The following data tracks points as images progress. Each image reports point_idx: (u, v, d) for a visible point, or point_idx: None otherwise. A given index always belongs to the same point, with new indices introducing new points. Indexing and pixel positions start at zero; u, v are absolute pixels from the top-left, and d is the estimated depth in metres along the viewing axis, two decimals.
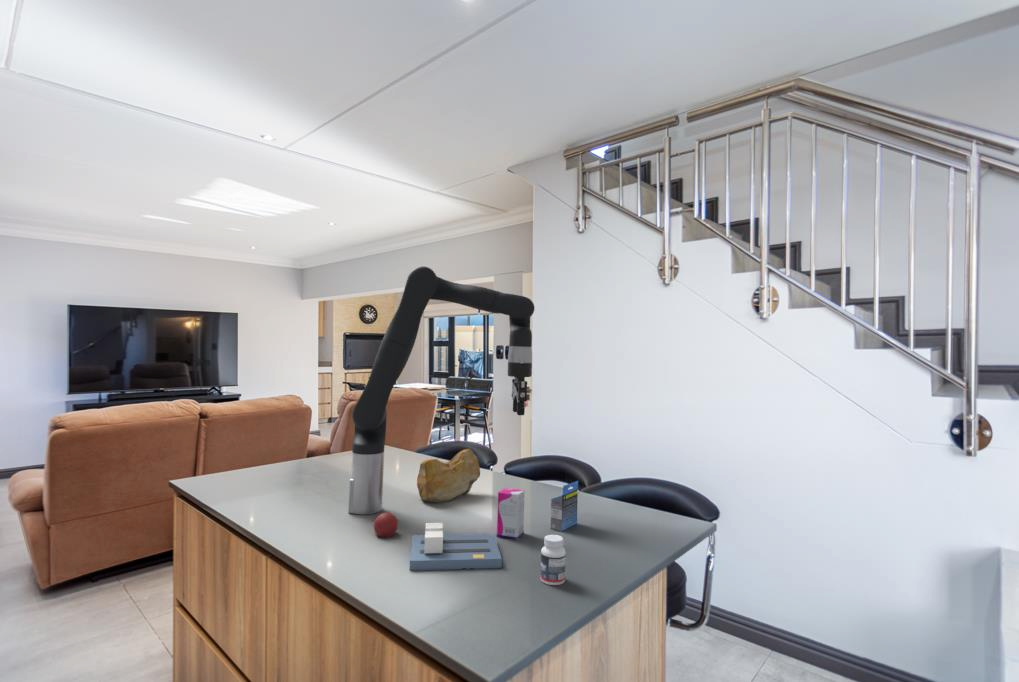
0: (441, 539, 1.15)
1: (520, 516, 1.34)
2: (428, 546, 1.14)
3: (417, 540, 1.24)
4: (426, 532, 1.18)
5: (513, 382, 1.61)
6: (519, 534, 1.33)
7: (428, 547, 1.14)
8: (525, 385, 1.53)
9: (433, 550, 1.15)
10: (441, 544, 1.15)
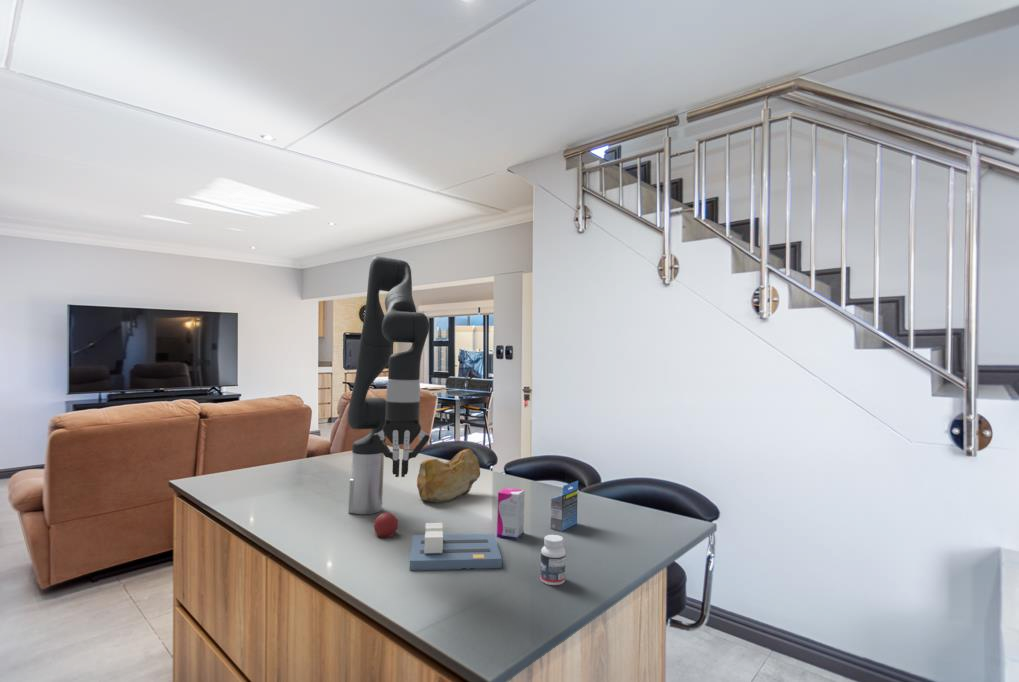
0: (441, 539, 1.15)
1: (520, 516, 1.34)
2: (428, 546, 1.14)
3: (417, 540, 1.24)
4: (426, 532, 1.18)
5: (394, 429, 1.14)
6: (519, 534, 1.33)
7: (428, 547, 1.14)
8: None
9: (433, 550, 1.15)
10: (441, 544, 1.15)
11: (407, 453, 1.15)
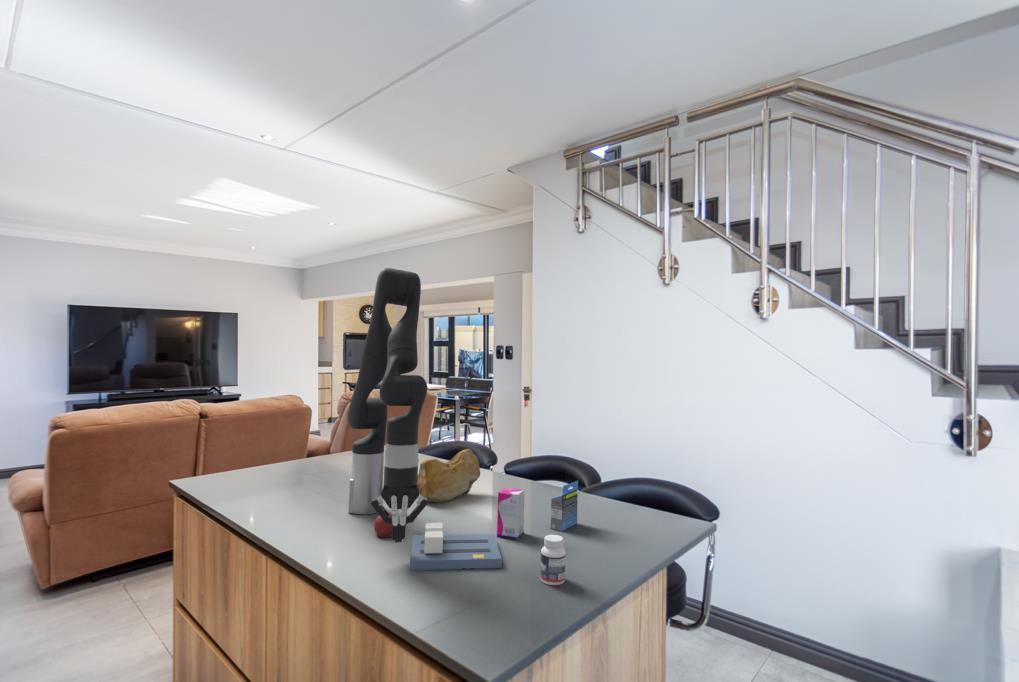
0: (441, 539, 1.15)
1: (520, 516, 1.34)
2: (428, 546, 1.14)
3: (417, 540, 1.24)
4: (426, 532, 1.18)
5: (392, 495, 1.14)
6: (519, 534, 1.33)
7: (428, 547, 1.14)
8: None
9: (433, 550, 1.15)
10: (441, 544, 1.15)
11: (404, 518, 1.15)
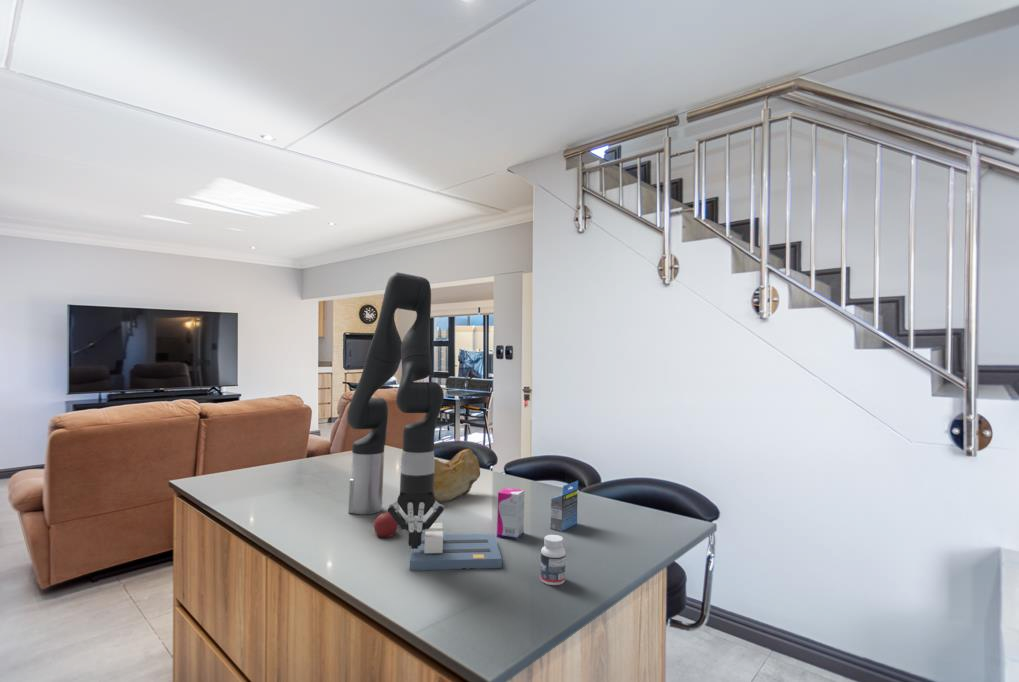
0: (441, 539, 1.15)
1: (520, 516, 1.34)
2: (428, 546, 1.14)
3: None
4: (426, 532, 1.18)
5: (409, 502, 1.14)
6: (519, 534, 1.33)
7: (428, 547, 1.14)
8: None
9: (433, 550, 1.15)
10: (441, 544, 1.15)
11: (421, 525, 1.15)
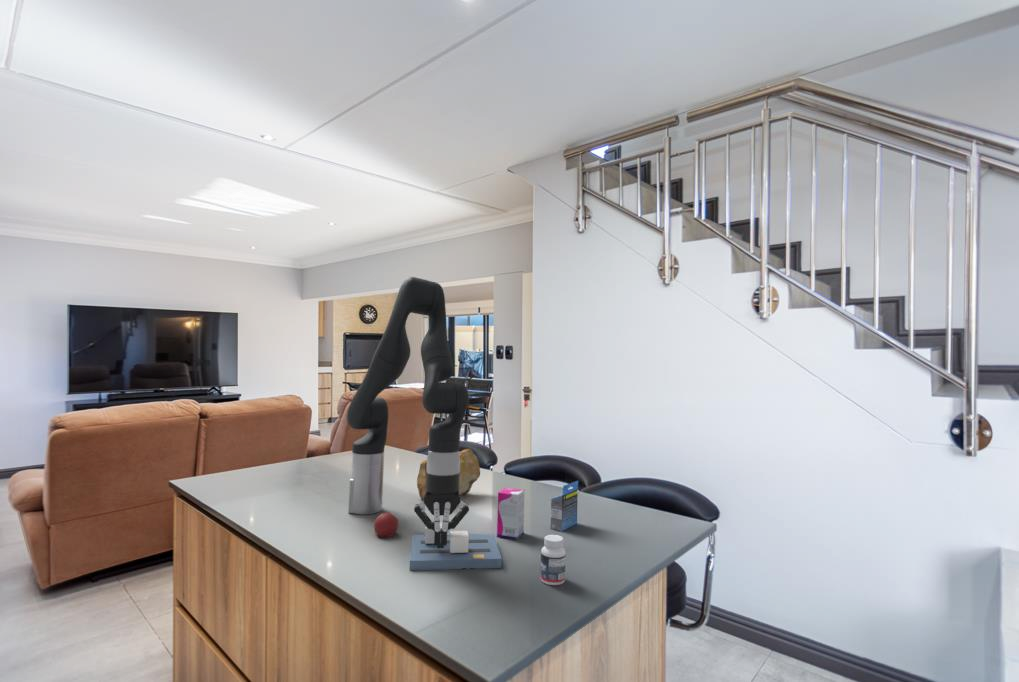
0: (467, 539, 1.16)
1: (520, 516, 1.34)
2: (454, 545, 1.15)
3: (417, 540, 1.24)
4: (451, 532, 1.18)
5: (435, 501, 1.15)
6: (519, 534, 1.33)
7: (454, 546, 1.15)
8: None
9: (459, 549, 1.15)
10: (467, 543, 1.16)
11: (446, 524, 1.16)
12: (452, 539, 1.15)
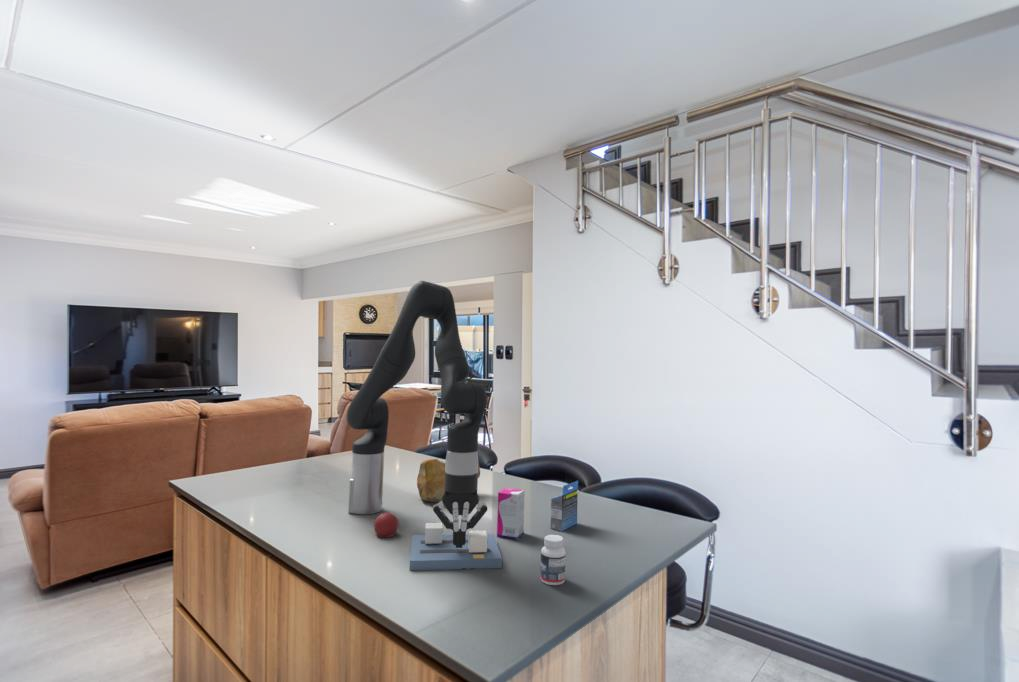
0: (485, 538, 1.16)
1: (520, 516, 1.34)
2: (472, 545, 1.16)
3: (417, 540, 1.24)
4: (470, 531, 1.19)
5: (454, 501, 1.16)
6: (519, 534, 1.33)
7: (472, 546, 1.16)
8: None
9: (478, 549, 1.16)
10: (485, 543, 1.16)
11: (465, 524, 1.16)
12: (471, 539, 1.16)
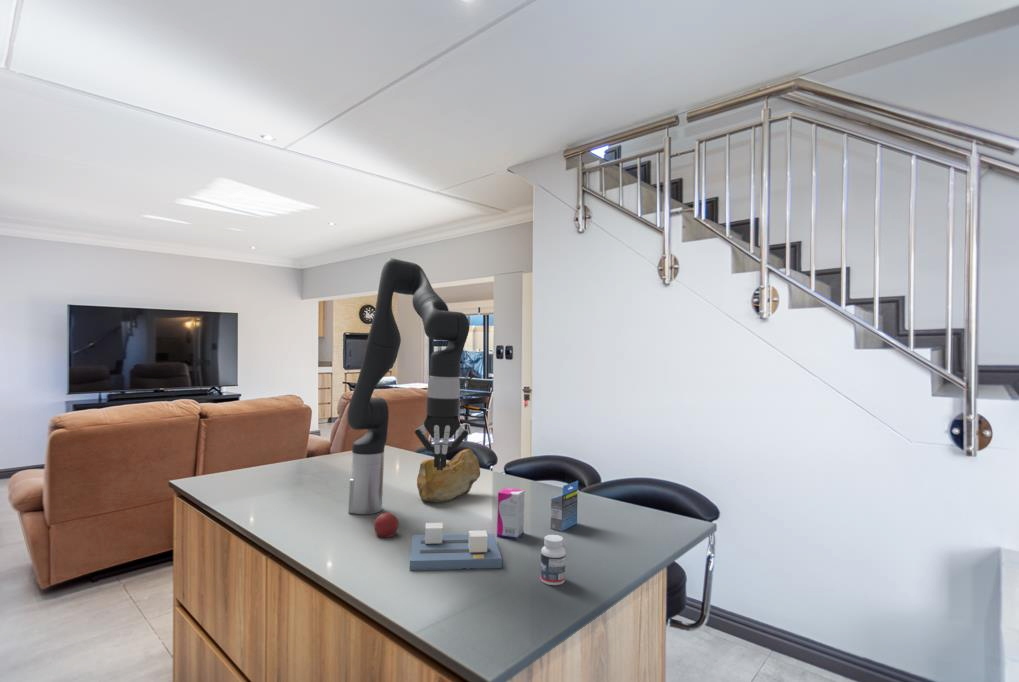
0: (486, 538, 1.16)
1: (520, 516, 1.34)
2: (473, 545, 1.16)
3: (417, 540, 1.24)
4: (470, 531, 1.19)
5: (435, 424, 1.19)
6: (519, 534, 1.33)
7: (473, 546, 1.16)
8: None
9: (478, 549, 1.16)
10: (486, 543, 1.16)
11: (446, 447, 1.20)
12: (471, 539, 1.16)
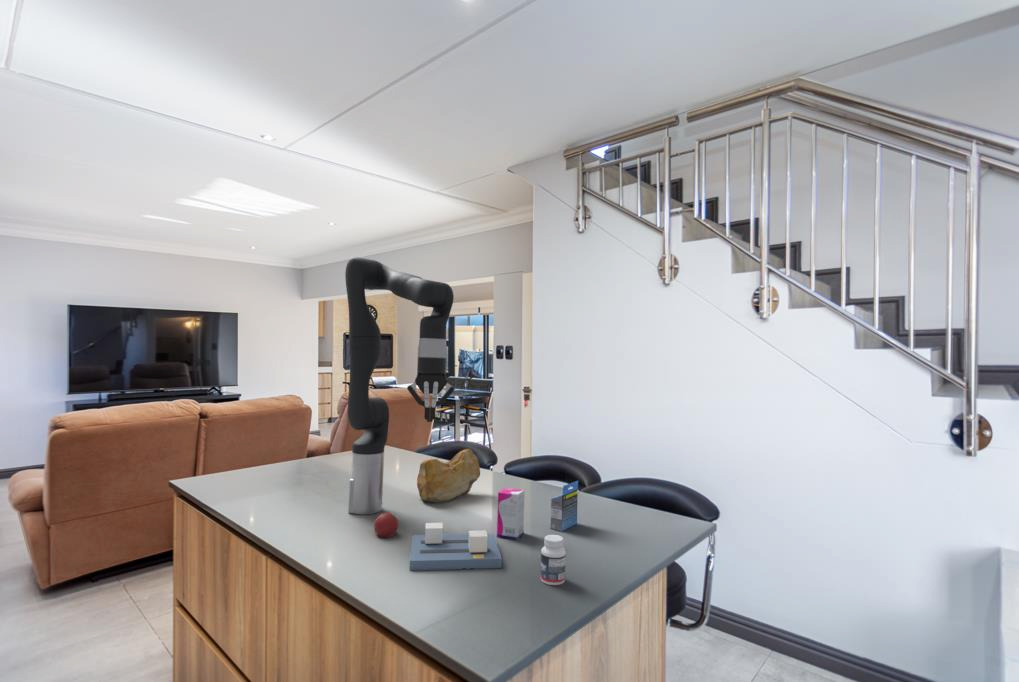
0: (486, 538, 1.16)
1: (520, 516, 1.34)
2: (473, 545, 1.16)
3: (417, 540, 1.24)
4: (470, 531, 1.19)
5: (425, 381, 1.34)
6: (519, 534, 1.33)
7: (473, 546, 1.16)
8: None
9: (478, 549, 1.16)
10: (486, 543, 1.16)
11: (435, 401, 1.35)
12: (471, 539, 1.16)
